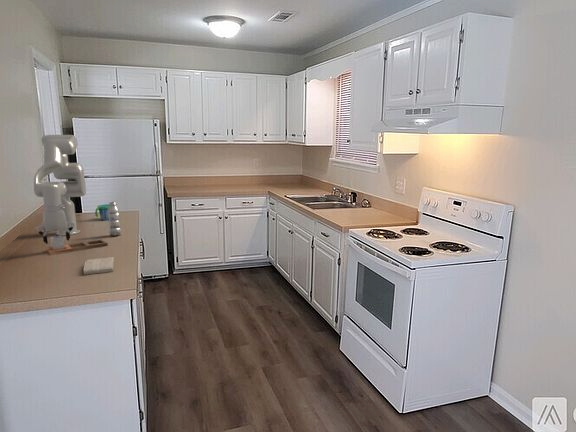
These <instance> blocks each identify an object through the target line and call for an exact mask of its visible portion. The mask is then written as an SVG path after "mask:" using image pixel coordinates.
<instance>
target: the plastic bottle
mask: <svg viewBox="0 0 576 432" xmlns="http://www.w3.org/2000/svg"><path fill="white" fill-rule="evenodd" d="M108 204H109V206H110V207H109V208H108V210H107V213H108V217H109V220H108V222H109V223H108V224H109V229H108V232H109V235H110V236H112V237H113V236H114V237H117V236H120V235H121V234H122V228H121V224H120V210H119V208H118V207H117V202H116V201H110V202H108Z"/></svg>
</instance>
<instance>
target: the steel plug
mask: <svg viewBox="0 0 576 432" xmlns="http://www.w3.org/2000/svg"><path fill="white" fill-rule="evenodd" d="M49 239H50V247H51V249H52V251H54V250H61V249H65V247H64V245H65V240H64V236H60V235H57V236H56V235H55V236H50V237H49Z"/></svg>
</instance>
